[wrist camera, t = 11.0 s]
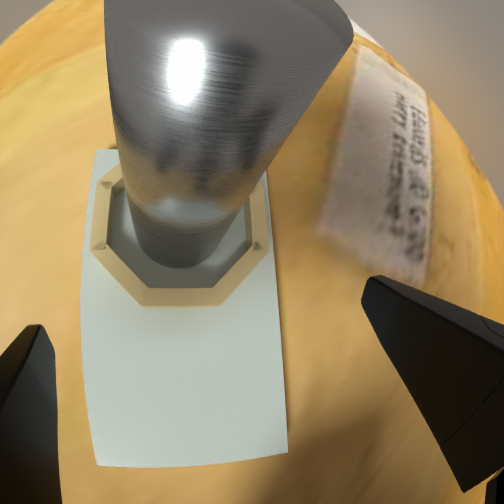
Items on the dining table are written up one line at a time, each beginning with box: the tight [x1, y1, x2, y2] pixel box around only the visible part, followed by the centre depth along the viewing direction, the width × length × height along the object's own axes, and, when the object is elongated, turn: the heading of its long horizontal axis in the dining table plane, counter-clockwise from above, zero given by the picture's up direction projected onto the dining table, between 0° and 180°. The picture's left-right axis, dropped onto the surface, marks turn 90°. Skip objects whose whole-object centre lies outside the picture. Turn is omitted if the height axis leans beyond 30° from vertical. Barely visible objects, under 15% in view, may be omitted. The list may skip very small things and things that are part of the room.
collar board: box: [80, 149, 288, 467], centre depth 14 cm, size 17×10×2 cm, turn 4°
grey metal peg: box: [104, 0, 354, 268], centre depth 10 cm, size 5×5×12 cm
